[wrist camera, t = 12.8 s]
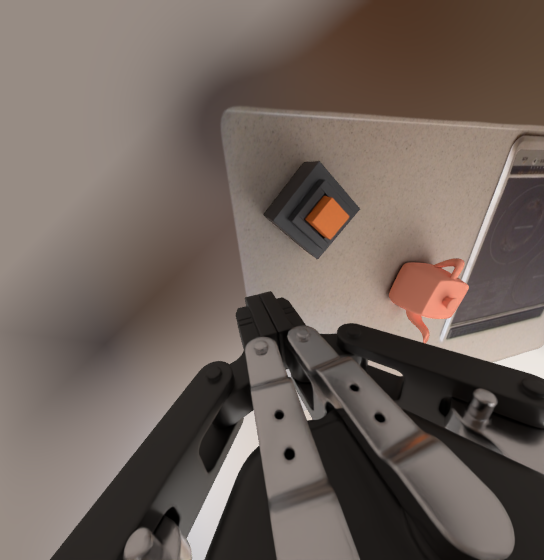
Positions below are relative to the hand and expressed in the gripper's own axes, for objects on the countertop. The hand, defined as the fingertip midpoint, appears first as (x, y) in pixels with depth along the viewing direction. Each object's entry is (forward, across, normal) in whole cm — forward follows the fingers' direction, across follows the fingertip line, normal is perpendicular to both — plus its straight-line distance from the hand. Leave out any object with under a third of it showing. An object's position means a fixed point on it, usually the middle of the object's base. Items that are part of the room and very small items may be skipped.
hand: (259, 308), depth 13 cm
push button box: (+26, -14, 0) cm, 30 cm away
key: (+19, -14, 0) cm, 24 cm away
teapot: (+26, -39, +21) cm, 51 cm away
